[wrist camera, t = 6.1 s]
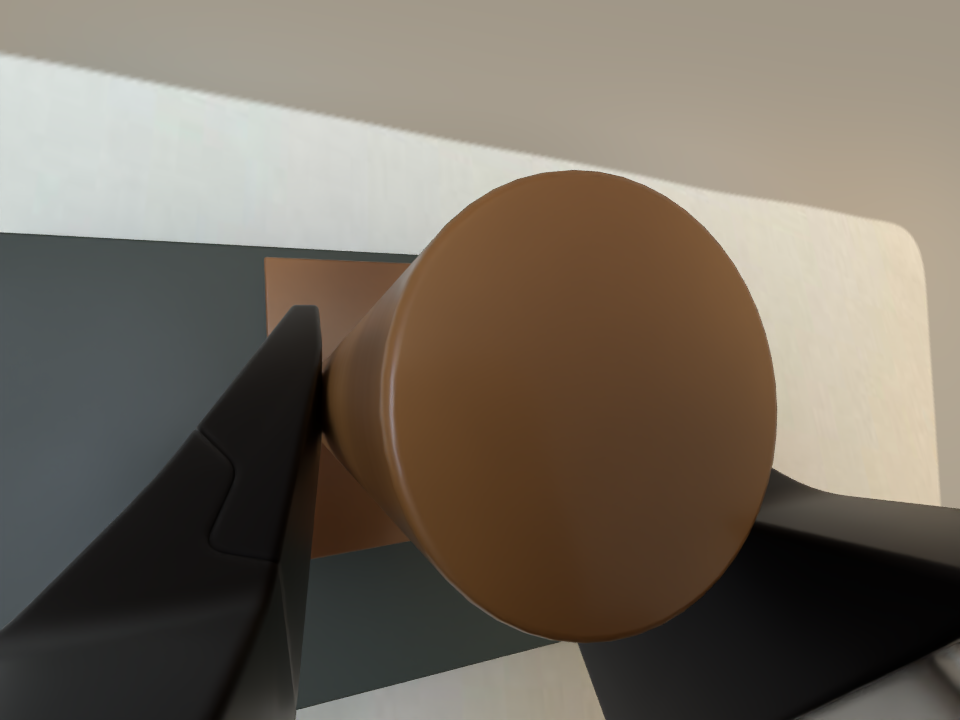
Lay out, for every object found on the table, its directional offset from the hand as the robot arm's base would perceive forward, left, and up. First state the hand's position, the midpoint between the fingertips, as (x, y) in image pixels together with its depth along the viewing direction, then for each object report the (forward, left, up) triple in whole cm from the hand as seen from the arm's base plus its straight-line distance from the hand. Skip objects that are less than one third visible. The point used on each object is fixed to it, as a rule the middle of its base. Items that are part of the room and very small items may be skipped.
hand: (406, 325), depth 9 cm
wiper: (-1, +1, -7) cm, 7 cm away
